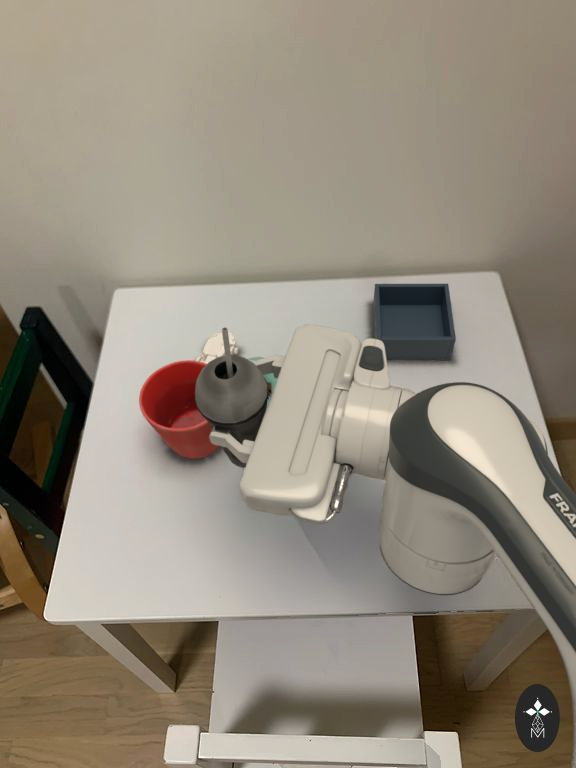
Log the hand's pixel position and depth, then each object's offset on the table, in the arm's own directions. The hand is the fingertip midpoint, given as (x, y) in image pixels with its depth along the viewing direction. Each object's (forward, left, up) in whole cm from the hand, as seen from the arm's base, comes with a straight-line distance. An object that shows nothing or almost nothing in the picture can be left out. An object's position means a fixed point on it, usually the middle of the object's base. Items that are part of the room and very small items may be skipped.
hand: (226, 399), depth 59 cm
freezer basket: (-13, -31, -20) cm, 39 cm away
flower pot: (+10, -5, -20) cm, 23 cm away
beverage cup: (-1, 0, -10) cm, 10 cm away
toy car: (+12, -17, -20) cm, 29 cm away
